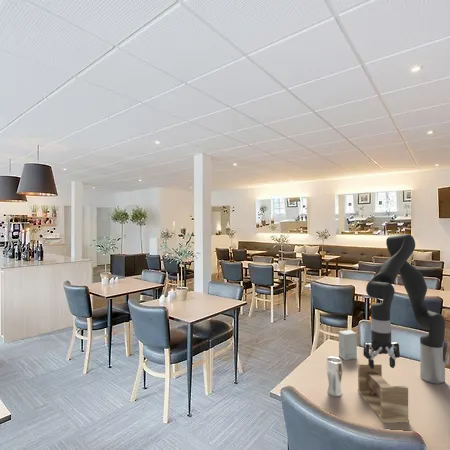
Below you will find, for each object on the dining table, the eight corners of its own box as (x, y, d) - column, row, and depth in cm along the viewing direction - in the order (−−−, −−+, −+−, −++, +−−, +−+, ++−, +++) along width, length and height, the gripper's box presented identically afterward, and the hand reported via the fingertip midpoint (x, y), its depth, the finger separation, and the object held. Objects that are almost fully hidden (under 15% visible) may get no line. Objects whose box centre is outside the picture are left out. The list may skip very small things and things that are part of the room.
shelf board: (367, 383, 135) (367, 372, 135) (376, 383, 135) (376, 372, 135) (386, 405, 119) (386, 392, 119) (397, 404, 119) (397, 392, 119)
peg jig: (357, 391, 138) (357, 362, 138) (379, 391, 138) (379, 362, 138) (383, 422, 116) (383, 389, 116) (409, 422, 116) (408, 388, 116)
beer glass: (329, 387, 142) (329, 355, 142) (345, 392, 138) (344, 359, 138) (324, 393, 137) (324, 360, 137) (339, 399, 132) (339, 364, 132)
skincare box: (350, 354, 177) (350, 329, 177) (357, 359, 171) (357, 332, 171) (338, 356, 175) (338, 330, 175) (344, 360, 169) (344, 334, 169)
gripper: (392, 325, 131) (393, 363, 131) (360, 326, 131) (360, 363, 131) (403, 331, 123) (403, 371, 123) (368, 332, 123) (369, 372, 123)
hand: (381, 367), depth 127 cm, fingers open, 8 cm apart
